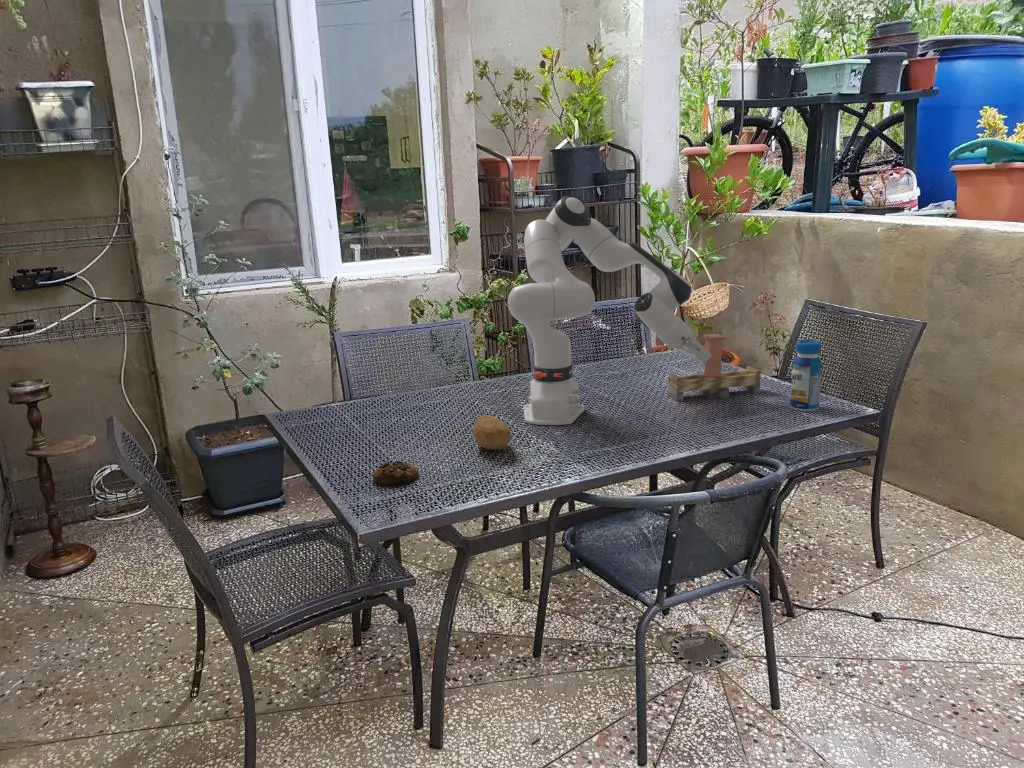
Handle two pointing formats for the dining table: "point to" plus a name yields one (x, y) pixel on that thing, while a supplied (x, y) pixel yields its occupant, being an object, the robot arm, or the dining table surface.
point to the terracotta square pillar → (714, 355)
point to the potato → (491, 433)
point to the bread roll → (395, 473)
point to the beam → (714, 383)
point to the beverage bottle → (806, 376)
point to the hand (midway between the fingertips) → (704, 362)
